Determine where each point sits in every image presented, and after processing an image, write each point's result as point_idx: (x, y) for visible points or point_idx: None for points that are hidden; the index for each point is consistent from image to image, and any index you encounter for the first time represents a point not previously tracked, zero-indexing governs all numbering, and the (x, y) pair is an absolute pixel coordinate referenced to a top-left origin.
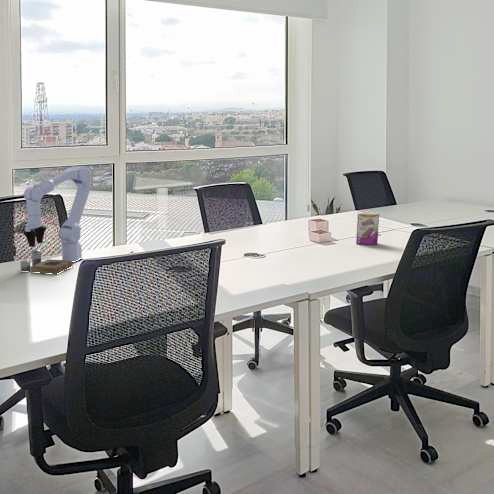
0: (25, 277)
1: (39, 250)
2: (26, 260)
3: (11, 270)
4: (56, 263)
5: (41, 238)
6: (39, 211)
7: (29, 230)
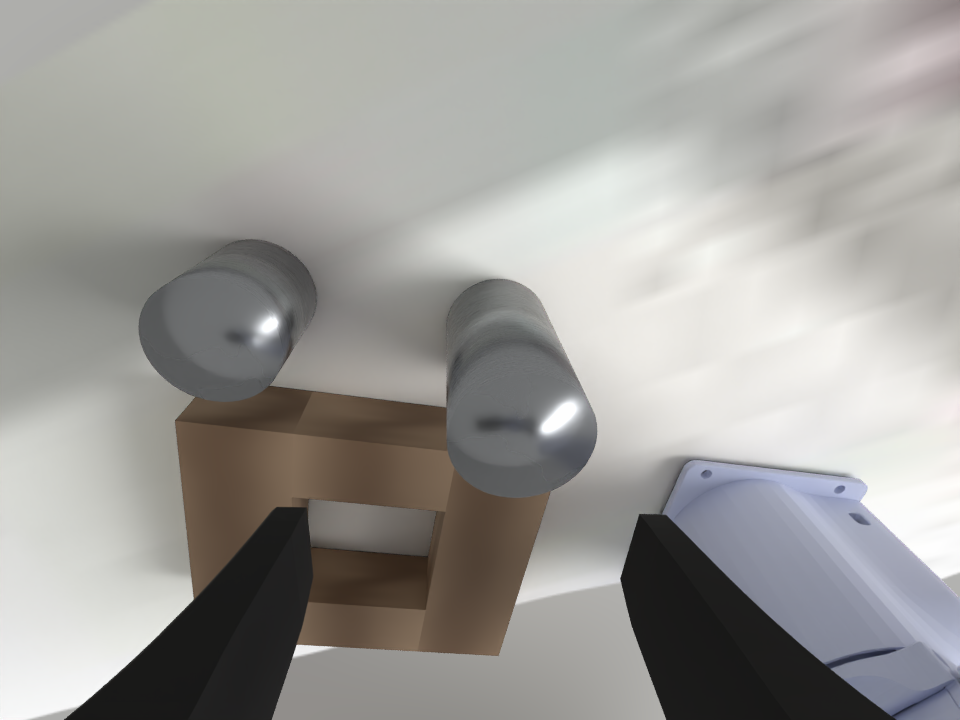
0: (23, 387)
1: (517, 486)
2: (275, 336)
3: (253, 83)
4: (433, 558)
5: (657, 673)
6: None
7: None
